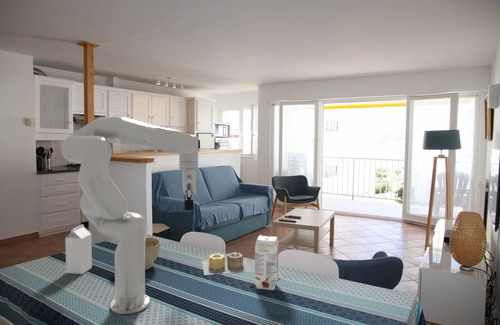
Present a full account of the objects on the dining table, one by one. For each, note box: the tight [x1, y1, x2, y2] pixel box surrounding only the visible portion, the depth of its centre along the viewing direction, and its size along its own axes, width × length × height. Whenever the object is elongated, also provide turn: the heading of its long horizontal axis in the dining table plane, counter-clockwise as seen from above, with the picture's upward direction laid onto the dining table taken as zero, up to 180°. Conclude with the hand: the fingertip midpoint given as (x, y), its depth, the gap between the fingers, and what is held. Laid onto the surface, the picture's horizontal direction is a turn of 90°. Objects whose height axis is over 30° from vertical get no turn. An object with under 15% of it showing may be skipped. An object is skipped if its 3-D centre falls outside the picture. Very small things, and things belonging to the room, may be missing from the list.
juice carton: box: [254, 234, 279, 291], centre depth 129 cm, size 8×9×19 cm
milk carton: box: [64, 224, 93, 275], centre depth 141 cm, size 7×7×19 cm
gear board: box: [201, 252, 253, 276], centre depth 146 cm, size 16×20×7 cm
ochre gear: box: [208, 253, 226, 270], centre depth 145 cm, size 7×7×4 cm
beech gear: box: [226, 252, 244, 268], centre depth 147 cm, size 7×7×4 cm
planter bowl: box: [145, 236, 161, 271], centre depth 147 cm, size 16×16×11 cm
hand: (188, 207), depth 138 cm, fingers open, 9 cm apart
